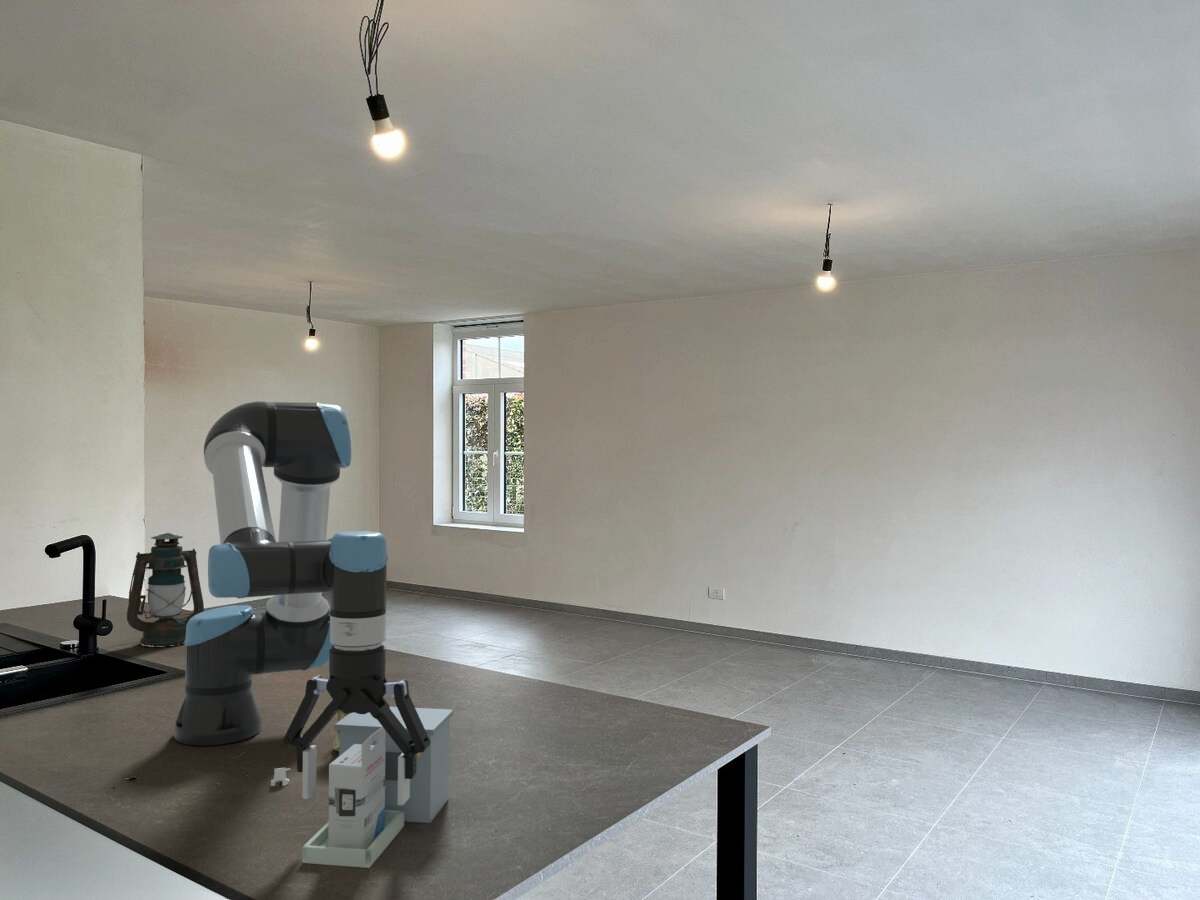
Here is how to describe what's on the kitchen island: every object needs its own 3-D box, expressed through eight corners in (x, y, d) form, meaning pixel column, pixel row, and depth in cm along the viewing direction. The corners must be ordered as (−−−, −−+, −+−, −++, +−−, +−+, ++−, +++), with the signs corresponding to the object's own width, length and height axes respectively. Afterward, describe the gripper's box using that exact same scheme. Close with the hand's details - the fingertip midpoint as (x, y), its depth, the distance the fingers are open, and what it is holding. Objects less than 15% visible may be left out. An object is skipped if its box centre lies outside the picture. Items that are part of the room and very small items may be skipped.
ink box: (353, 824, 129) (354, 721, 129) (386, 827, 128) (387, 723, 128) (326, 851, 121) (327, 741, 121) (361, 854, 120) (362, 743, 120)
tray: (302, 862, 119) (302, 846, 119) (343, 821, 132) (343, 806, 132) (369, 867, 117) (369, 851, 117) (404, 825, 130) (404, 811, 130)
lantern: (132, 651, 234) (133, 536, 234) (119, 642, 245) (120, 532, 245) (210, 641, 247) (211, 532, 247) (194, 633, 258) (195, 528, 258)
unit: (333, 817, 133) (334, 724, 133) (360, 792, 143) (361, 704, 143) (432, 824, 131) (433, 729, 131) (452, 797, 141) (453, 709, 141)
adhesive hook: (270, 790, 144) (271, 770, 144) (270, 784, 147) (270, 765, 147) (291, 787, 145) (291, 768, 145) (289, 782, 148) (290, 762, 148)
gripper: (258, 646, 122) (257, 803, 122) (436, 654, 119) (435, 815, 119) (285, 635, 130) (283, 782, 130) (453, 642, 126) (451, 793, 127)
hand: (356, 798), depth 124 cm, fingers open, 13 cm apart
